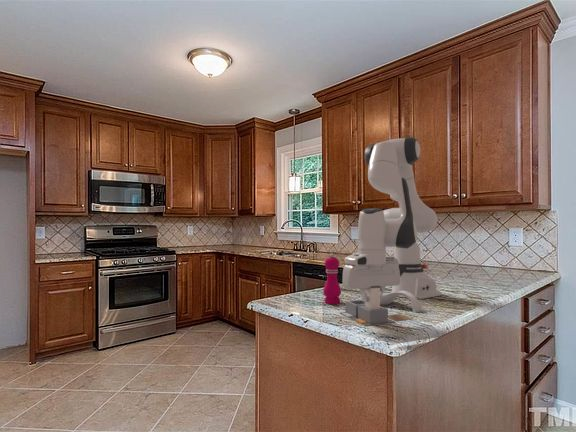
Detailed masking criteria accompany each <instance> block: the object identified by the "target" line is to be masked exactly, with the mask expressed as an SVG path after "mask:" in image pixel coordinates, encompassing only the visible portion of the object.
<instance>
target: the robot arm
mask: <svg viewBox="0 0 576 432" xmlns="http://www.w3.org/2000/svg"><path fill="white" fill-rule="evenodd" d="M420 155H421V146H420V144H419V142H418V139H417V138H415V137H412V136H411V137H410V136H409V137H408V136H406V137H403V138H402V137H401V138H392V139H388V140H385V141H380V142H378V143H372V144H369V145H367V147H366V148H365V150H364V161H365V164H366V166H367V167H368V168H367V179H368V183H369V185H370V186H371V187H372V188H373V189H375V190H376V191H378V192H380V193H383V194H387V195H389V196H390V198H391V199H392V200H393V201H395V202H397V203H398V205H399V207H391V208H388V209H384V210H383V209H382V208H379V207H372V208H371V207H370V208H369V207H368V208H364V209H362V210H360V211H359V217H358V224H357V226H358V227H357V236H358V242H359V243H358V246H357V252H355V253H352V254H350V255H348V256H345V257H344V261H343V262H344V263H345V265H344V267H343V269H342V286H343V287H344V288H345V289H348V290H356V289H357V290H359V292H360V294H361V299H362V300H363V301H364V302H369V296H367V295H366V293H365V291H367V288H370V287H371V286H380V300H382V295H383V293H385V290H386V287H392V288H391V292H390V293H394V292H399V291H407V292H410V293H411V294H413V295H414V296H415V297H416V298H417V299H418V300H423V299H429V298H434V297H440V296H442V295H443V293H442V292H441V291H439V290H437V284H436V281H435V280H434V278H432V277H431V276H429V275H428V274H427V273H426V272H425V271H424V269H425V270H427V269H428V268H429V265H428V264H425V263H423V264H422V263H421V247H420V245H419V244H418V243H417V239H418V233H426V232H431V231H433V230H434V229H435V227H436V226H437V224H438V216H437V213H436V211H434V209H433V208H431V207H429V206H428V205H426V204H425V203H424V202H423V201H422V199H421V197H420V196H419V194H418V192H417V186H416V182H415V175H414V170H413V166H412V165H413V164H414V163H417V161H418V160H419V159H420ZM386 247H387V248H393V256H391V257H389V256H388V257H387V248H386ZM398 297H400V298H407V297H406V296H404V295H399V296H398ZM407 299H408V298H407Z"/></svg>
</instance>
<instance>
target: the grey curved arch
mask: <svg viewBox="0 0 576 432" xmlns="http://www.w3.org/2000/svg"><path fill="white" fill-rule="evenodd" d="M399 295H404V296H406V297H407V299H408V300H409V301H410V303H411V308H412V312H413V313H417V312H423V307H422V305H421V303H420V301H419V299H418V298H416V297H415V296H414V295H413V294H411V293H410V292H407V291H399V292H394V293H391V292H389V293H385V292H384V293H383V295H382V300H380V306H387V305H390V304H392V303H393V302H394V301H395V300H396V298H397V297H399ZM406 297H405V298H406Z"/></svg>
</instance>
